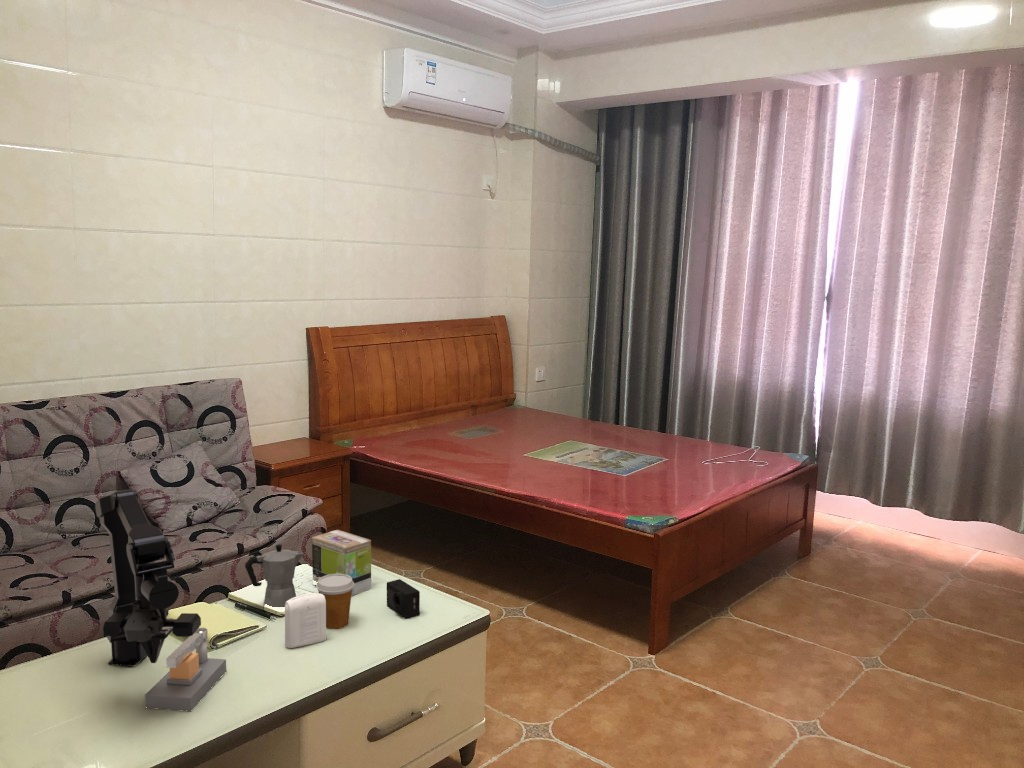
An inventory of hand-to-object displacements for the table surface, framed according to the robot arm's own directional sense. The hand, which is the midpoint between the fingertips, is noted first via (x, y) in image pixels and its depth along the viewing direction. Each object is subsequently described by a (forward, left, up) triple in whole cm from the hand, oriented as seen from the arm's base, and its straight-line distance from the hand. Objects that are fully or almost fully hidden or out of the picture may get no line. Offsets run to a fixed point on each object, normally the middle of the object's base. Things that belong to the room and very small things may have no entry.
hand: (154, 662), depth 178 cm
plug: (+4, +4, -9) cm, 11 cm away
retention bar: (+4, +6, 0) cm, 8 cm away
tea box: (+21, +65, -9) cm, 69 cm away
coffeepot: (+8, +48, -9) cm, 49 cm away
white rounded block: (+22, +30, -9) cm, 39 cm away
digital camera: (+41, +51, -9) cm, 66 cm away
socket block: (+4, +5, -9) cm, 11 cm away
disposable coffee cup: (+27, +41, -9) cm, 50 cm away
